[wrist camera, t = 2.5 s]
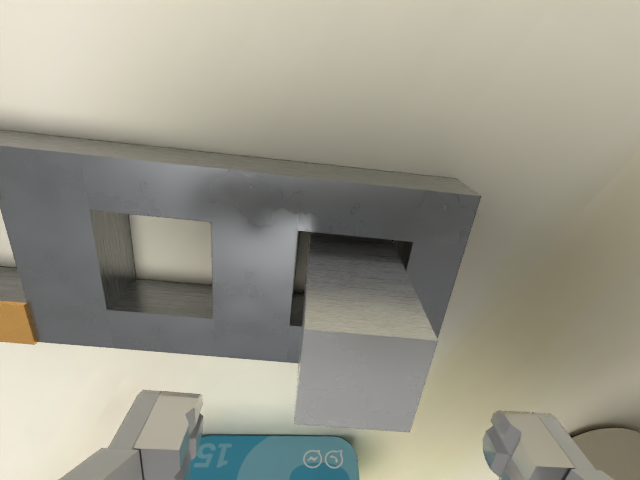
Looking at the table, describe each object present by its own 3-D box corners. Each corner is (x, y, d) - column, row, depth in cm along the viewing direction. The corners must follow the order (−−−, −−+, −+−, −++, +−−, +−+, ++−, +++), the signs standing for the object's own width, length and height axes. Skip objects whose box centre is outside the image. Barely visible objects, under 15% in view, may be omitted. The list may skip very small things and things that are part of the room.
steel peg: (386, 227, 19) (437, 340, 10) (373, 291, 20) (409, 432, 12) (311, 220, 18) (303, 328, 10) (304, 284, 20) (294, 423, 12)
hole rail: (455, 178, 17) (482, 197, 15) (413, 336, 22) (427, 376, 19) (-130, 116, 16) (-228, 122, 13) (-58, 296, 20) (-122, 331, 17)
